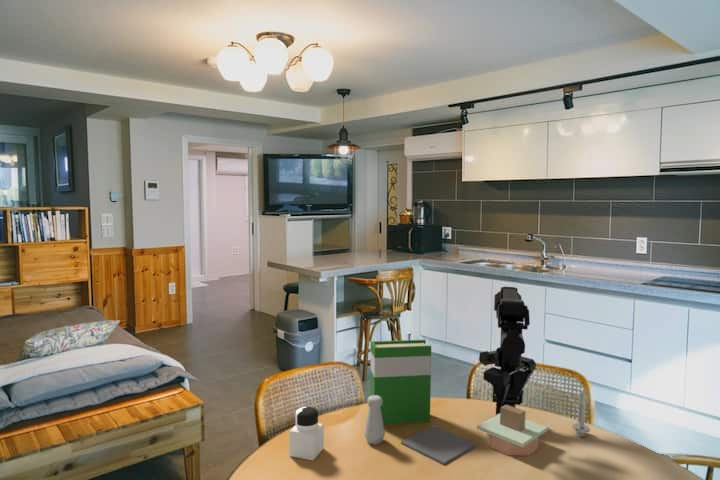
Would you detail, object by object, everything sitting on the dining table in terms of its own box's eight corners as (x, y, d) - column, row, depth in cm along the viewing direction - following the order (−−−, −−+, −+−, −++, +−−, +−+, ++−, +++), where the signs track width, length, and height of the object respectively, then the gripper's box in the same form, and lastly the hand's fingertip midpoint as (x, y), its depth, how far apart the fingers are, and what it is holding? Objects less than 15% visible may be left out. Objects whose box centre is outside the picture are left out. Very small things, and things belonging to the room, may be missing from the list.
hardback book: (423, 411, 158) (424, 339, 156) (429, 421, 151) (431, 346, 149) (370, 414, 155) (370, 341, 154) (374, 425, 148) (374, 348, 146)
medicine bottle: (324, 448, 134) (324, 406, 133) (313, 461, 127) (313, 417, 126) (300, 444, 136) (300, 402, 135) (288, 456, 129) (288, 412, 128)
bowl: (503, 428, 147) (503, 415, 146) (544, 444, 137) (545, 430, 137) (479, 442, 138) (479, 428, 137) (521, 460, 128) (521, 445, 128)
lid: (503, 414, 147) (503, 395, 146) (547, 430, 137) (548, 409, 136) (476, 428, 137) (477, 408, 137) (522, 447, 127) (523, 425, 127)
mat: (434, 427, 147) (434, 425, 147) (476, 445, 136) (476, 443, 136) (400, 443, 137) (400, 441, 137) (443, 464, 126) (443, 462, 126)
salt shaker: (382, 447, 135) (383, 401, 134) (362, 445, 136) (363, 400, 135) (386, 437, 140) (386, 393, 139) (366, 435, 141) (367, 392, 140)
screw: (593, 436, 142) (581, 439, 140) (580, 429, 146) (568, 432, 144) (595, 393, 141) (582, 396, 139) (582, 387, 145) (569, 389, 143)
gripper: (502, 332, 147) (501, 382, 148) (467, 345, 134) (465, 399, 136) (537, 340, 139) (535, 393, 140) (503, 355, 126) (501, 412, 128)
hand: (509, 399), depth 136 cm, fingers open, 9 cm apart
